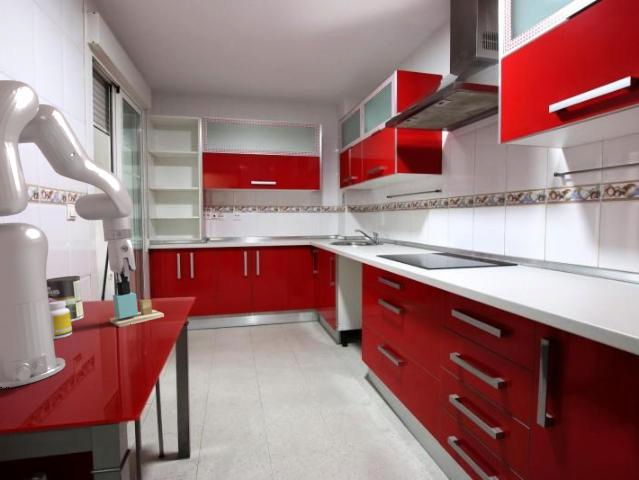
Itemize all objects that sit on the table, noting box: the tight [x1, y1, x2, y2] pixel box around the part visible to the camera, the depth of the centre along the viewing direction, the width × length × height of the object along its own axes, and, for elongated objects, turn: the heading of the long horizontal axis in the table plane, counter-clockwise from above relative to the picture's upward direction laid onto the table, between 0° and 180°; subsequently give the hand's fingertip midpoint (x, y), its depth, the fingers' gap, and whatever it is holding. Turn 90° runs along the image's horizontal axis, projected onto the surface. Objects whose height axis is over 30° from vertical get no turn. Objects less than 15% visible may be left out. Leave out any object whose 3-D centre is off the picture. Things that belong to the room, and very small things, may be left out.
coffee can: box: [46, 275, 85, 323], centre depth 120 cm, size 10×10×14 cm
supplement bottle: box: [49, 301, 73, 340], centre depth 101 cm, size 5×5×10 cm
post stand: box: [109, 298, 165, 328], centre depth 114 cm, size 10×13×8 cm
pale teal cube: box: [112, 291, 139, 318], centre depth 112 cm, size 5×5×7 cm
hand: (124, 294), depth 112 cm, fingers closed
